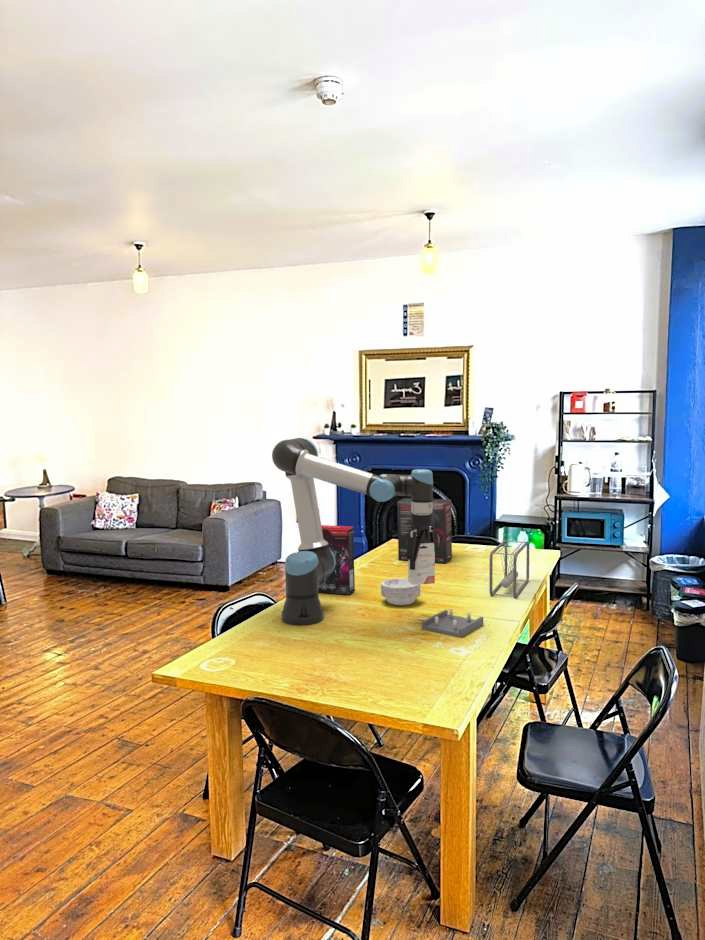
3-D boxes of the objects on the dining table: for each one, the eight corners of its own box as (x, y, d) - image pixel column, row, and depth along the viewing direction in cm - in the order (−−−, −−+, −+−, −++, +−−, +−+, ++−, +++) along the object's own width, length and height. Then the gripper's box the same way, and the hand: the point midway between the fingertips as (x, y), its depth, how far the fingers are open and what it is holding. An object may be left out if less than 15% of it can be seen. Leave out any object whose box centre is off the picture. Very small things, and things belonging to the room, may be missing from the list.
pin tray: (461, 637, 227) (461, 625, 227) (422, 629, 236) (421, 617, 236) (483, 624, 240) (483, 612, 240) (445, 617, 249) (445, 605, 249)
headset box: (396, 560, 340) (396, 493, 336) (404, 555, 351) (404, 490, 348) (446, 564, 330) (445, 495, 327) (452, 558, 342) (452, 492, 339)
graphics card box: (310, 592, 284) (309, 527, 282) (317, 588, 291) (315, 524, 288) (350, 595, 279) (348, 529, 276) (355, 591, 285) (354, 526, 283)
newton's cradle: (515, 599, 270) (516, 554, 269) (489, 596, 275) (489, 552, 273) (529, 581, 298) (529, 540, 296) (504, 578, 302) (505, 538, 300)
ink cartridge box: (429, 580, 251) (430, 540, 250) (434, 583, 247) (435, 542, 245) (407, 581, 249) (407, 541, 248) (412, 585, 244) (412, 544, 243)
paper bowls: (392, 595, 279) (392, 575, 278) (426, 600, 271) (426, 580, 270) (374, 604, 266) (373, 584, 265) (409, 610, 258) (409, 589, 257)
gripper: (414, 518, 234) (413, 583, 237) (446, 510, 252) (445, 571, 254) (395, 516, 239) (395, 580, 241) (428, 508, 256) (427, 568, 259)
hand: (421, 575), depth 248 cm, fingers closed on ink cartridge box, 9 cm apart
